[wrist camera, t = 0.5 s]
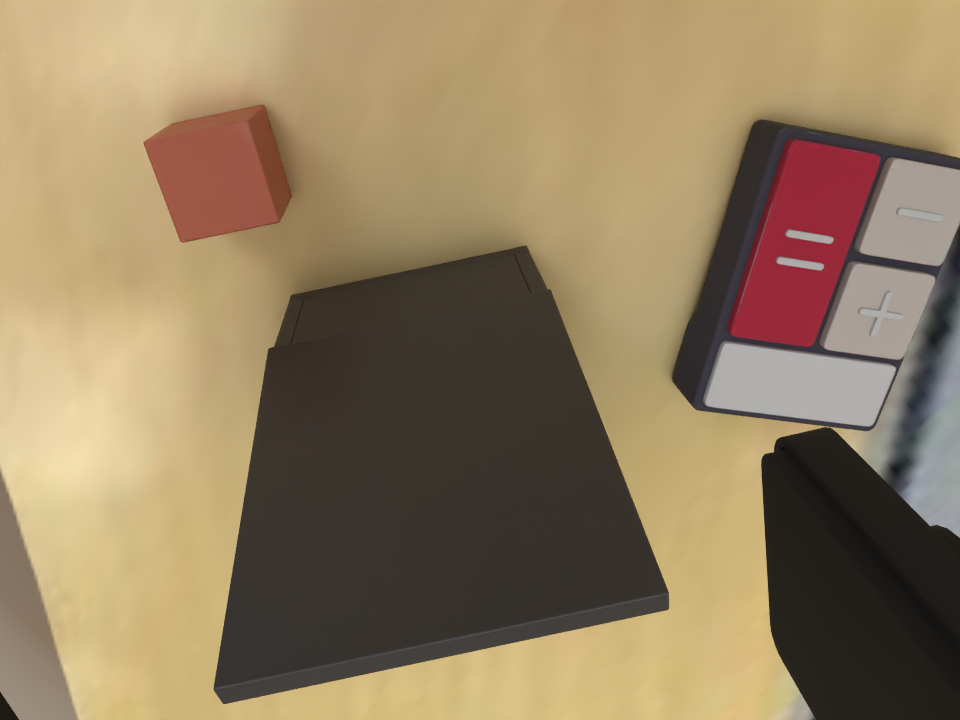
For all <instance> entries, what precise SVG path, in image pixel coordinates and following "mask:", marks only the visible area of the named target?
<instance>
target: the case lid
mask: <svg viewBox="0 0 960 720" xmlns="http://www.w3.org/2000/svg"><path fill="white" fill-rule="evenodd" d="M668 609H669V592H668V589H667V587H666V584H665V582H664V579H663V577H662V574H661V571H660V569H659V566H658V564H657V561H656V559H655V556H654V554H653V551H652V548H651V546H650V543H649V541H648V538H647V536H646V533H645V530H644V528H643V525H642V523H641V520H640V518H639V515H638V513H637V510H636V507H635V505H634V502H633V500H632V497H631V495H630V492H629V489H628V487H627V484H626V482H625V479H624V477H623V474H622V472H621V469H620V466H619V464H618V461H617V459H616V456H615V454H614V451H613V449H612V446H611V443H610V441H609V438H608V436H607V433H606V431H605V428H604V425H603V423H602V420H601V418H600V415H599V413H598V410H597V408H596V405H595V402H594V400H593V397H592V395H591V392H590V390H589V387H588V384H587V382H586V379H585V377H584V374H583V372H582V369H581V367H580V364H579V361H578V359H577V356H576V354H575V351H574V349H573V346H572V343H571V341H570V338H569V336H568V333H567V331H566V328H565V326H564V323H563V320H562V318H561V315H560V313H559V310H558V308H557V305H556V303H555V300H554V297H553V295H552V292H551V290H550V289H548V290H543V291H538V292H534V293H529V294H524V295H519V296H515V297H510V298H505V299H500V300H496V301H491V302H486V303H481V304H477V305H472V306H467V307H462V308H458V309H453V310H448V311H443V312H439V313H434V314H429V315H424V316H420V317H415V318H410V319H405V320H401V321H396V322H391V323H386V324H382V325H377V326H372V327H367V328H363V329H358V330H353V331H348V332H344V333H339V334H334V335H329V336H325V337H320V338H315V339H310V340H306V341H301V342H296V343H291V344H287V345H282V346H277V347H272V348H269V349H268V354H267V360H266V366H265V373H264V379H263V385H262V391H261V398H260V404H259V410H258V416H257V422H256V429H255V435H254V441H253V447H252V453H251V460H250V466H249V472H248V478H247V485H246V491H245V497H244V503H243V509H242V516H241V522H240V528H239V534H238V540H237V547H236V553H235V559H234V565H233V572H232V578H231V584H230V590H229V596H228V603H227V609H226V615H225V621H224V627H223V634H222V640H221V646H220V652H219V659H218V665H217V671H216V677H215V683H214V691H215V693H216V694H217V696H218V697H219V698H220V700H221V701H222V703H223V704H228V703H232V702H237V701H242V700H246V699H251V698H256V697H260V696H265V695H270V694H275V693H279V692H284V691H289V690H293V689H298V688H303V687H308V686H312V685H317V684H322V683H326V682H331V681H336V680H340V679H345V678H350V677H355V676H359V675H364V674H369V673H373V672H378V671H383V670H388V669H392V668H397V667H402V666H406V665H411V664H416V663H420V662H425V661H430V660H435V659H439V658H444V657H449V656H453V655H458V654H463V653H467V652H472V651H477V650H482V649H486V648H491V647H496V646H500V645H505V644H510V643H515V642H519V641H524V640H529V639H533V638H538V637H543V636H547V635H552V634H557V633H562V632H566V631H571V630H576V629H580V628H585V627H590V626H595V625H599V624H604V623H609V622H613V621H618V620H623V619H627V618H632V617H637V616H642V615H646V614H651V613H656V612H660V611H665V610H668Z"/></svg>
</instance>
